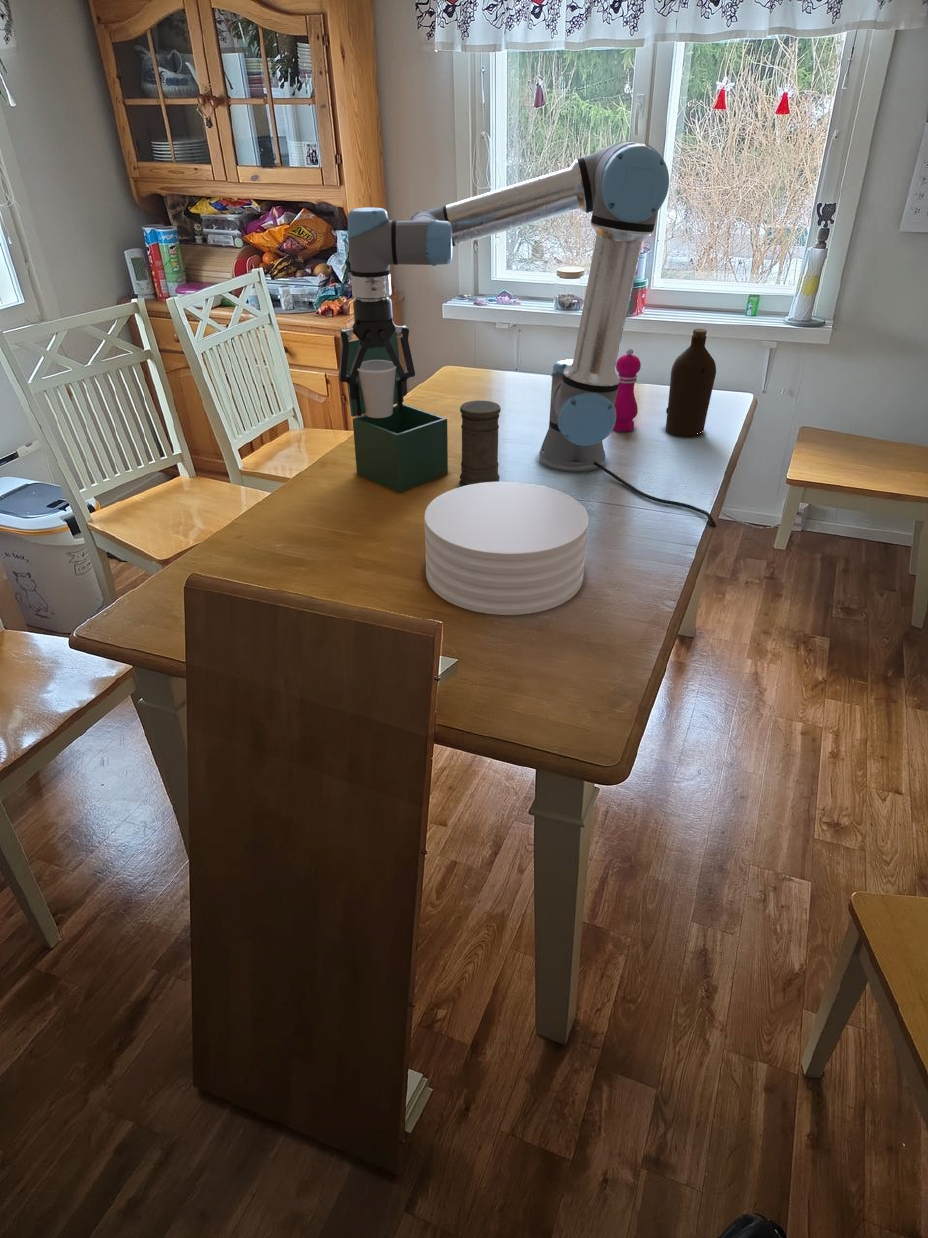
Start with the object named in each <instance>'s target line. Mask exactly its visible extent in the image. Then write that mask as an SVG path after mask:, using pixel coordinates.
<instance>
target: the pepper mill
mask: <svg viewBox="0 0 928 1238" xmlns="http://www.w3.org/2000/svg"><path fill="white" fill-rule="evenodd" d="M641 365H642V363H641V360H640V358H639V357H638V356H636V355H635V354H634V349H633V348H629V347H628V348H627V349H626V351H625V354H623V355H621V356H620V357H618V358H617V361H616V366H615V371H617V373H616V374H617V375H618V377H619V378H620V382H619V387H618V392H617V396H616V401H615V409H616V422H615V426H614V428H613V430H612V431H615V432H622V433H623V432H626V433H627V432H630V431H633V430H634V429H635V420H634V419H635V418H637V415H638V411H639V410H638V409H639V408H638V402H637V400H636V396H635V384H636V382H637V381H638V379H637V378H638V373H639V372H640V370H641V367H642V366H641Z"/></svg>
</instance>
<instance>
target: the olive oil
mask: <svg viewBox="0 0 928 1238" xmlns="http://www.w3.org/2000/svg"><path fill="white" fill-rule="evenodd" d="M707 332H708V331H707V329H705V328H694V329H693V330H692V335H691V340H690V345H689V346H688V347H687V348H686V349H685V350H684V351H683V352H681V353H680V354H679V355H678V356H677V357H676V358H675V360H674V362H673V364H672V366H671V372H670V378H669V379H670V381H669V390H668V391H669V392H668V402H667V407H666V409H665V413H666V420H665V421H666V422H665V432H666V433H667V434H669V435H671V436H674V437H677V438H684V439H685V438H687V439H688V438H689V439H690V438H698V437H700V436H702V435H703V434H704V431H705V426H706V420H707V415H708V411H709V408H710V407H709V406H710V402H711V397H712V393H713V389H714V383H715V380H716V376H717V365H716V361H715V359H714V358H713V356H712V354H711V353H709V351H708V350H707V348H706V342H707ZM702 431H703V432H702ZM700 432H701V433H700ZM697 433H698V434H697Z"/></svg>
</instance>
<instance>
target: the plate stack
mask: <svg viewBox="0 0 928 1238" xmlns="http://www.w3.org/2000/svg"><path fill="white" fill-rule="evenodd" d="M423 518H424V538H425V539H424V541H425V542H424V548H425V549H424V550H425V565H426V566H425V577H426V581H427V583H428V585H429V587H430V588H431V590H432V591H433V592H434V593H435V594H436V595H438V596H439V597H440V598H441V599H443V600H445V601H446V602H447V603H450V604H452V605H454V606H457V607H459V608H462V609H465V610H468V611H472V612H476V613H480V614H481V613H482V614H487V615H496V616H497V615H498V616H518V615H529V614H535V613H540V612H545V611H547V610H551V609H553V608H556V607H558V606H561V605H563V604H564V603H566V602H568V601H569V600H571V599H573V597H574V596H575V595H576V594H577V593H578V592H579V590H580V589H581V587H582V585H583V582H584V575H585V564H586V555H587V542H588V533H589V532H588V531H589V526H590V525H589V524H590V516H589V513H588V511H587V509H586V508H585V506H584V505H583V504H581V503H580V502H579V501H578V500H577V499H576V498H574V497H572V496H570V495H568V494H566V493H565V492H563V491H560V490H558V489H555V488H551V487H548V486H545V485H539V484H534V483H529V482H519V481H500V482H485V483H477V484H471V485H466V486H462V487H460V486H459V487H456V488H452V489H450V490H447V491H445V492H443V493H441V494H440V495H438V496H436V497H435V498H433V499H432V501H431V502H430V503H428V505H427V506H426V508H425V511H424V517H423Z"/></svg>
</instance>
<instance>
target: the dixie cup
mask: <svg viewBox="0 0 928 1238" xmlns="http://www.w3.org/2000/svg"><path fill="white" fill-rule="evenodd" d="M396 368H397V367H396V366H394V364H393V362H391V361H386V360H370V361H364V362H362V364H361V367H360V369H359V368H358V369H357V370H358V371H359V372H358V378H359V383H360V388H361V393H362V398H363V403H364V409H365V413H364V414H365V415H366V416H368V417H372V418H384V417H388V416H391V415H392V414H393V406H394V405H393V400H394V385H395V371H396Z"/></svg>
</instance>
